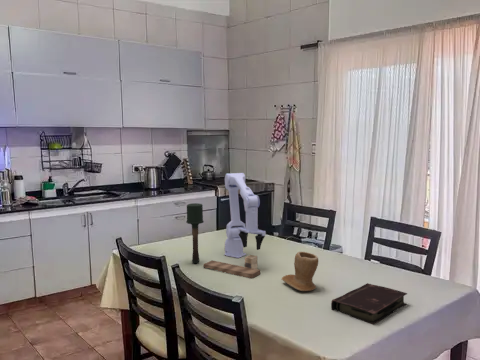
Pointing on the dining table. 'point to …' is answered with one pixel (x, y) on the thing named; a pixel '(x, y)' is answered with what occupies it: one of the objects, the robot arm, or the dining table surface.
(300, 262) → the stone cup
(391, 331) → the dining table surface
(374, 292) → the diary
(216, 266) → the board
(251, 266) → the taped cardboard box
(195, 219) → the potato masher grenade
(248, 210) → the robot arm
